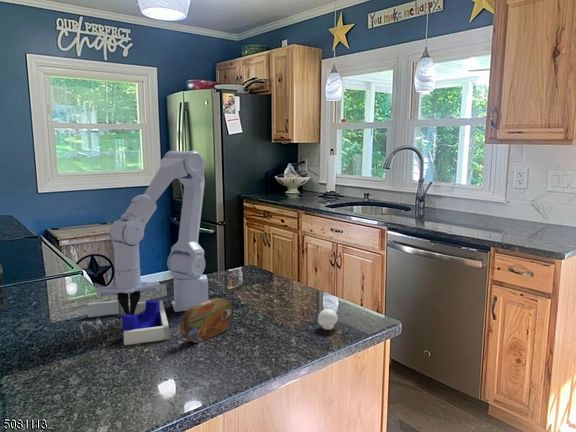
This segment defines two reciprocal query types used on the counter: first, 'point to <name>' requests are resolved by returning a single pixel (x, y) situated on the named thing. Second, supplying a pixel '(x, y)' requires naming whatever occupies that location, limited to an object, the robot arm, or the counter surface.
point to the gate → (104, 308)
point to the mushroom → (327, 319)
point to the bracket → (147, 333)
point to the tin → (206, 319)
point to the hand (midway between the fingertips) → (130, 321)
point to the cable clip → (143, 317)
